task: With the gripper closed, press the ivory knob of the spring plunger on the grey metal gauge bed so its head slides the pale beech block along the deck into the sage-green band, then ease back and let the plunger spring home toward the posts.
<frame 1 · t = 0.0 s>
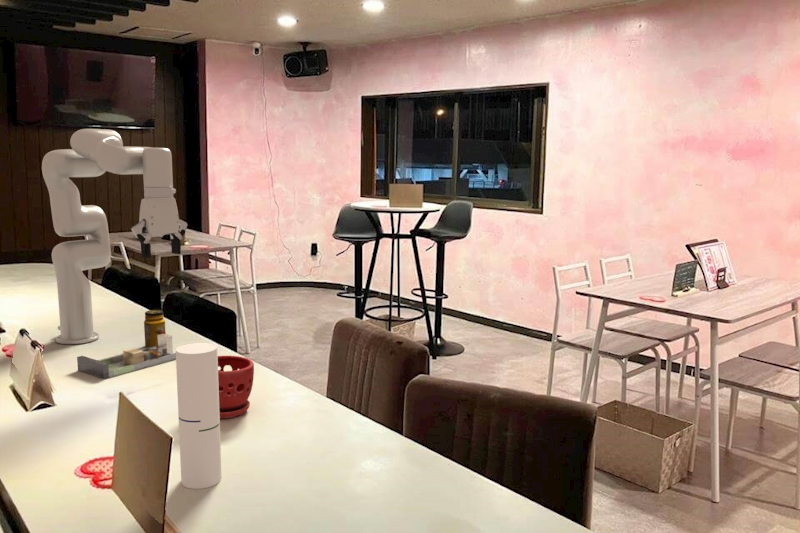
hand: (161, 255, 195), 31 cm above the table, tool pointing down, fingers open, 9 cm apart
cylindrical container: (201, 480, 130), on the table
gauge bed: (131, 368, 196), on the table
condiment: (152, 350, 215), on the table
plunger: (157, 347, 201), point 4 cm above the table, slide at 0.0 cm
beech block: (133, 363, 197), point 1 cm above the table, touching gauge bed
plant pot: (226, 412, 164), on the table
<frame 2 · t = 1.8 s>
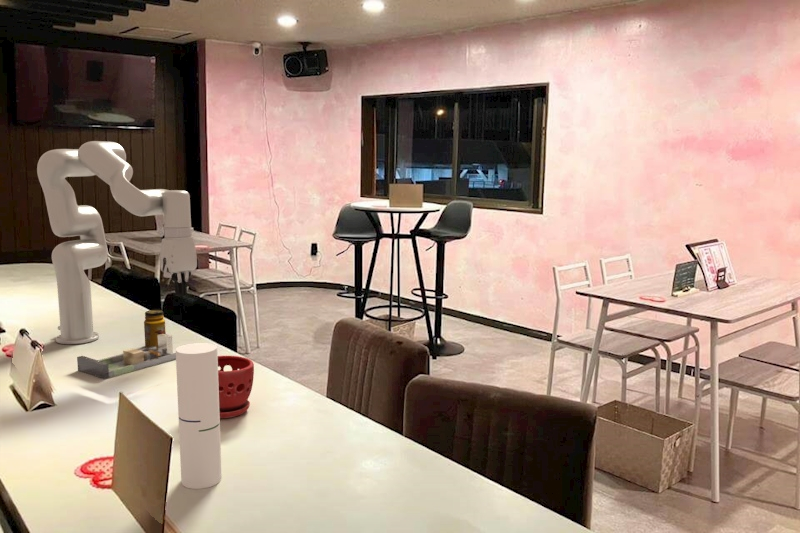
hand: (181, 295, 207), 18 cm above the table, tool pointing down, fingers closed
nothing on the table moved.
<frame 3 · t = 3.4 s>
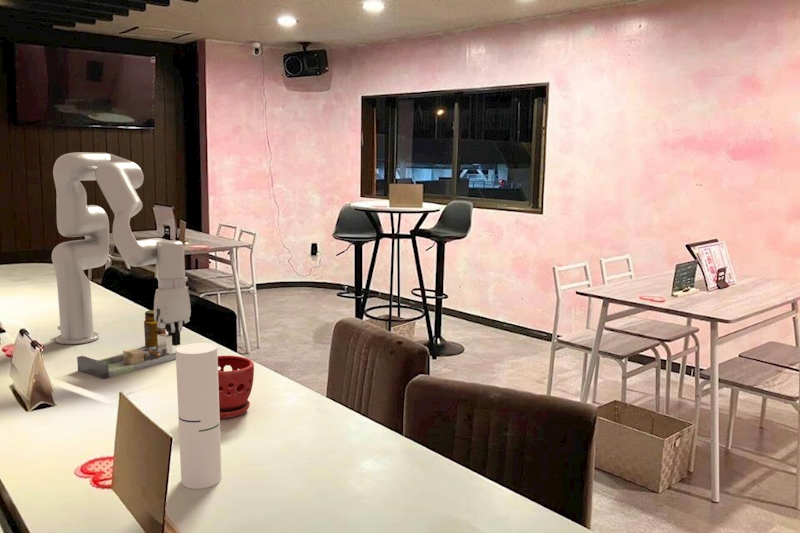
hand: (174, 344, 208), 4 cm above the table, tool pointing down, fingers closed
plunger: (157, 347, 201), point 4 cm above the table, slide at 0.1 cm, touching gripper
everything else where it was.
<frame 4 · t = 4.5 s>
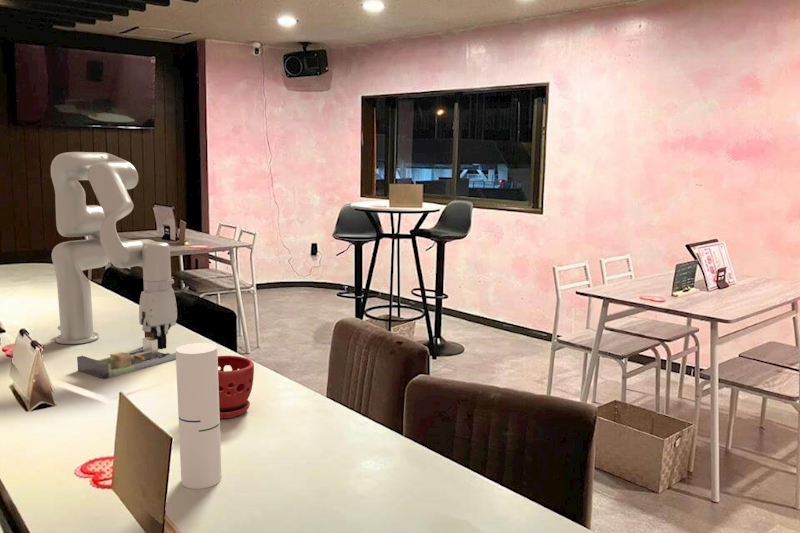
hand: (160, 347, 204), 4 cm above the table, tool pointing down, fingers closed
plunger: (142, 351, 197), point 4 cm above the table, slide at 5.0 cm, touching gripper
beech block: (121, 366, 194), point 1 cm above the table
everything else where it was.
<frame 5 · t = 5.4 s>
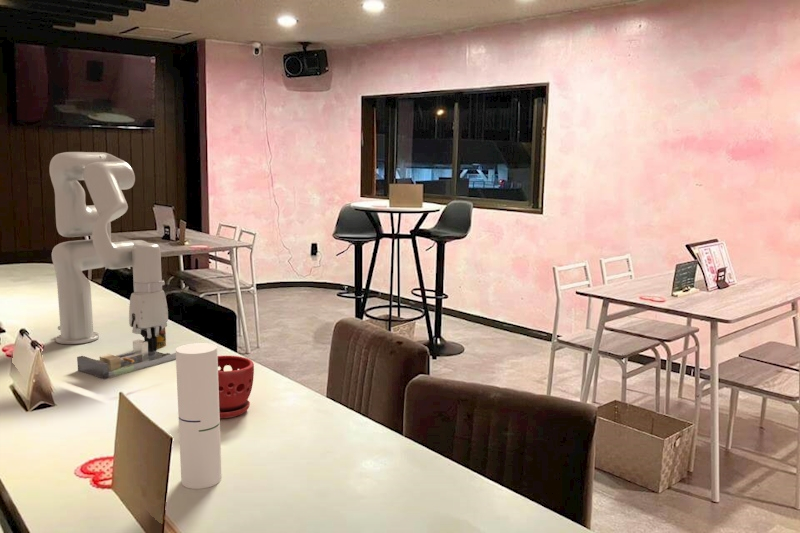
hand: (151, 350, 201), 4 cm above the table, tool pointing down, fingers closed
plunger: (132, 354, 195), point 4 cm above the table, slide at 8.2 cm, touching beech block, gripper
beech block: (110, 369, 191), point 1 cm above the table, touching gauge bed, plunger
everything else where it was.
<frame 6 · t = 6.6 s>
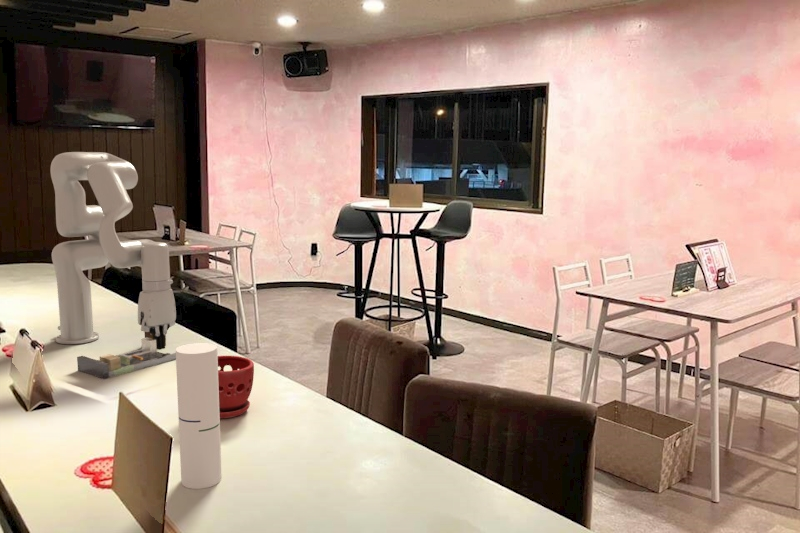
hand: (159, 348, 203), 4 cm above the table, tool pointing down, fingers closed
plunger: (141, 352, 197), point 4 cm above the table, slide at 5.4 cm, touching gripper
beech block: (110, 369, 191), point 1 cm above the table, touching gauge bed
everything else where it was.
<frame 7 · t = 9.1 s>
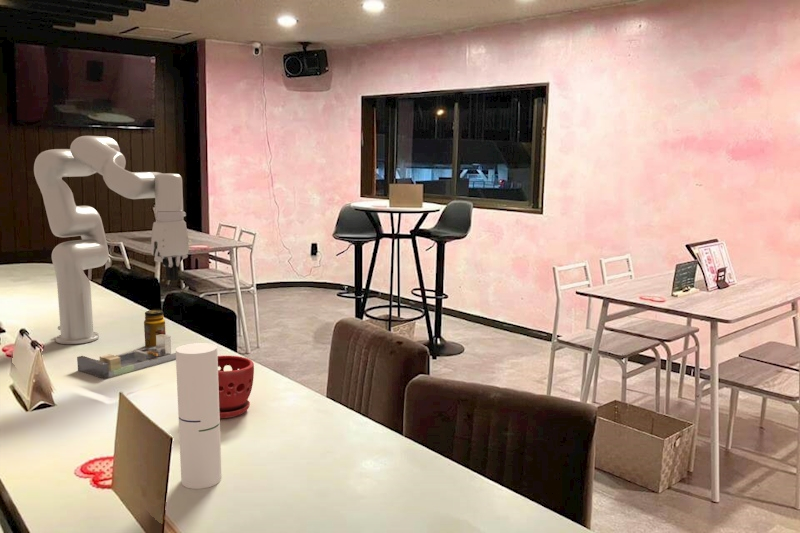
hand: (172, 279, 205), 23 cm above the table, tool pointing down, fingers closed
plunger: (156, 348, 201), point 4 cm above the table, slide at 0.5 cm
everything else where it was.
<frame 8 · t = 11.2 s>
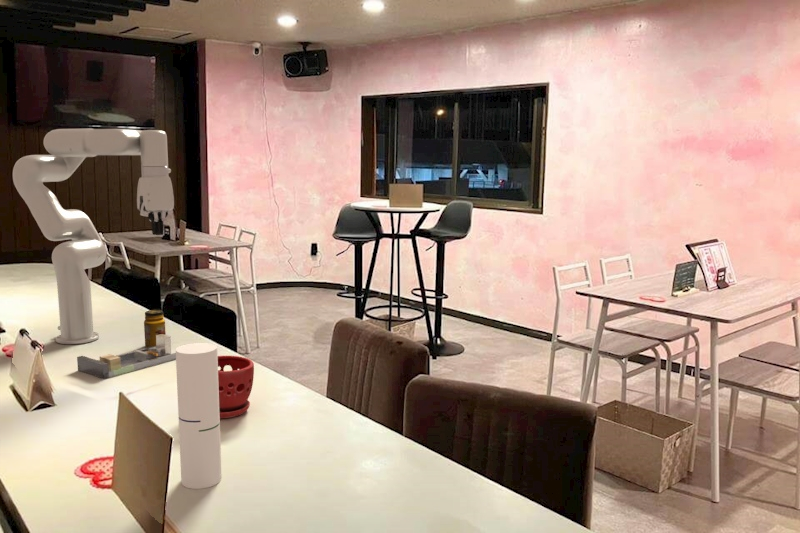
hand: (157, 234, 211), 35 cm above the table, tool pointing down, fingers closed
nothing on the table moved.
at the end: beech block 0.2 cm from the target spot on the gauge bed, point 1.2 cm above the gauge bed's base; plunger slide at 0.5 cm; beech block tilted 0° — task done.
